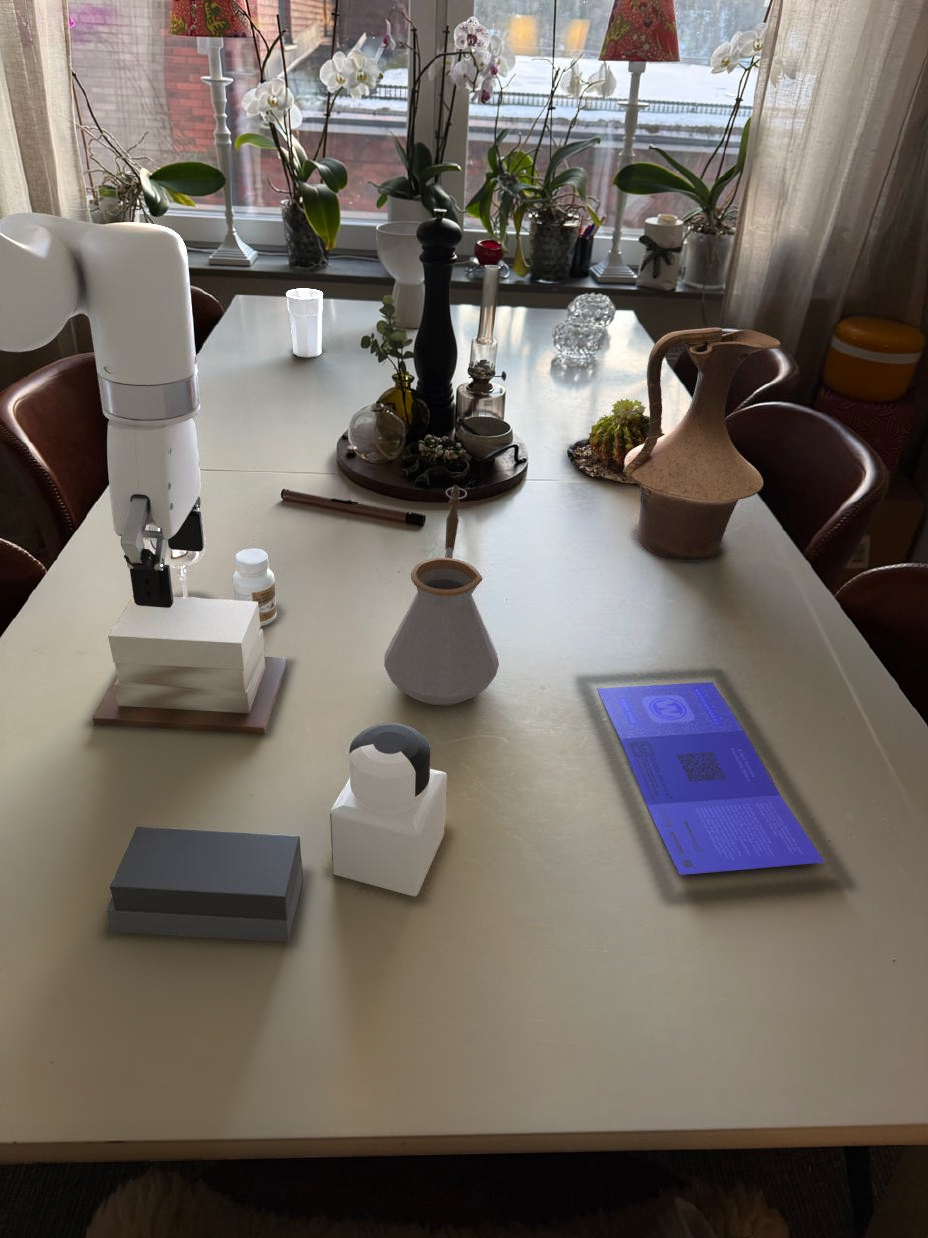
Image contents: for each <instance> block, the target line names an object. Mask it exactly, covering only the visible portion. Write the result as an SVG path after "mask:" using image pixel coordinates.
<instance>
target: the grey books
mask: <svg viewBox="0 0 928 1238" xmlns="http://www.w3.org/2000/svg"><path fill="white" fill-rule="evenodd" d="M303 871H304V870H303V858H302V849H301V837H300V835H290V834H289V835H288V834H276V833H275V834H273V833H257V832H240V831H239V832H238V831H225V830H224V831H223V830H222V831H220V830H205V829H189V828H186V829H185V828H172V827H171V828H169V827H154V826H151V827H150V826H135V828H134V830H133V833H132V834H131V838H130V839H129V842H128V843H127V847H126V848H125V851H124V853H123V855H122V858H121V860H120V862H119V864H118V867H117V869H116V871H115V873H114V876H113V879H112V881H111V882H110V885H109V889H110V894H111V899H110V901H109V903H108V906H107V908H106V915H107V919H108V923H109V927H110V930H111V932H112V933H127V934H144V935H161V936H163V935H164V936H178V937H179V936H182V937H197V938H214V939H215V938H216V939H232V940H248V941H264V942H265V941H266V942H281V943H282V942H283V943H284V942H285V943H289V942H290V939H291V934H292V931H293V925H294V920H295V917H296V911H297V907H298V903H299V898H300V894H301V890H302V885H303V881H304V872H303Z"/></svg>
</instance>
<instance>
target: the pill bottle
mask: <svg viewBox="0 0 928 1238" xmlns="http://www.w3.org/2000/svg"><path fill="white" fill-rule="evenodd" d="M234 563H235V565H234V566H235V572H234V573H233V576H232V586H233V587H232V588H233V596H234V600H236V601H254V602H258V606H259V617H260V627H262V626H263V627H264V626H266V625H269V624H271V623H273V622H274V621H275V619H276V618H277V615H278V612H277V595H276V582H275V575H274V572H273V571H272V570H271V569H270V565H269V564H270V563H269V556H268V553H267V552H266V551H264V550H263V549H260V548H248V549H243V550H241V551H239V552H237V553H236V554H235V556H234Z"/></svg>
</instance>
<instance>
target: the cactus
mask: <svg viewBox="0 0 928 1238" xmlns="http://www.w3.org/2000/svg"><path fill="white" fill-rule="evenodd" d="M611 407H612V408H613V409H611V410H610V412H611V413H612V414H611V413H610V412H609V415H607V414H606V415H605V413H603V416H604V417H603V416H600V417H599V416H598V418H599V419H598V420H596V423H595V424H592V425H591V431H590V432H588V435H589V437H588V438H587V439H582V440H578V441H576V442H575V443H574V444H570V445H569V447H568V448H567V450H566V454H567V457H568V460H570V463H572V465H576V467H577V469H579V470H580V471H581V472H583V473H584V474H585V475H589V476H592V477H602V478H603V479H609V480H612V481H616V482H620V483H624V484H637V483H636V482H635V481H633V480H631V479H629V478H628V477H626V476H625V474H624V472H623V470H624V468H625V466H624V460H625V457H626V456H627V454H628V453H629V452H630V451H631V450H632V449H634V448H636V447H638V446H640V445H643V444H645V441H646V439H647V437H648V432H649V424H650V415H644V413H645V410H646V408H647V407H646V406H645V405H644V404H643V402H642V401H639V400H638V399H633V400H630V399H628V398H627V397H625V398H624V399H623V398H621V399H620V400H616V402H615V403H614V404H611ZM663 431H664V429H663V428H661V429H660V433H659V437H658V438H660V437H662V436H664V435H666V433H663Z"/></svg>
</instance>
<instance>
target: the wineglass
mask: <svg viewBox="0 0 928 1238" xmlns="http://www.w3.org/2000/svg"><path fill="white" fill-rule="evenodd" d="M195 511H198V510H195ZM148 530H150V531H160V528H158V527H157V525H148ZM202 530H203V541H204V547H203V549H202V551H200V552H196V551H184V550H172V549H170V548H169V546H168V540H167V548H166V557H165V565H169V566H170V569H177V573H176V574H177V577H178V578H179V581H180V583H181V589H182V597H184V598H197V597H195V596H189V594H188V587H187V577H188V570H187V568H188V567H191V566H193V565H195V564H196V563H198V562H199V561H200V560H201V559H202V557H203V556H204V554H205V552H206V545H207V538H206V533H205V528H204V525H203V523H202ZM156 542H157V540H148V543H149V548H150V551H151V552H153V553H154V554H155V550H156Z"/></svg>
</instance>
